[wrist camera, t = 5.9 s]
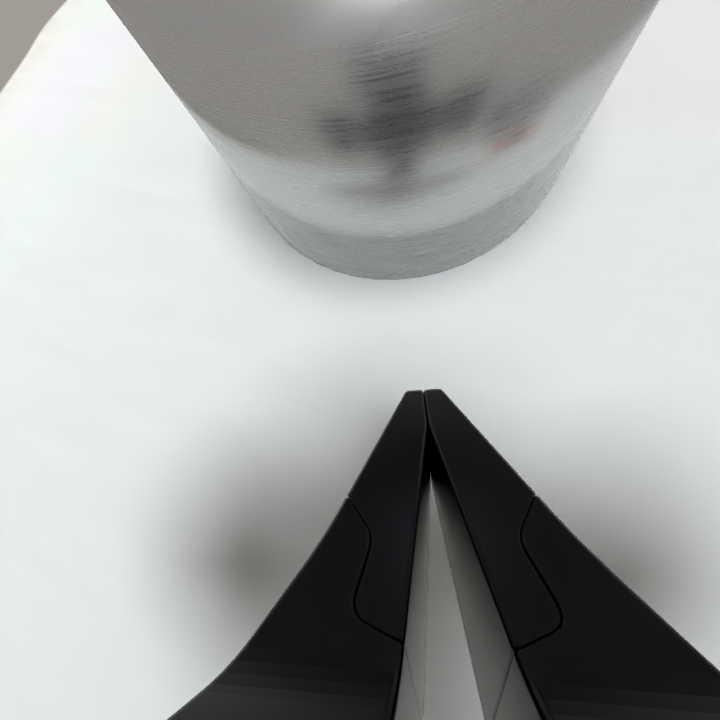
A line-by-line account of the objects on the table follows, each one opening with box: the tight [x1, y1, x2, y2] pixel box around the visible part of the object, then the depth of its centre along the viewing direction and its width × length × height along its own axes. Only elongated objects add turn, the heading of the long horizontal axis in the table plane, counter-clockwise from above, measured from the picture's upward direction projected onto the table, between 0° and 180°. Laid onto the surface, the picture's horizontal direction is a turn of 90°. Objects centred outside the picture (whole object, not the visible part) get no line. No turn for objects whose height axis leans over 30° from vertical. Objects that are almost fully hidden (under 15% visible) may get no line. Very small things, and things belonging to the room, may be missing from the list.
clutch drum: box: [106, 0, 659, 280], centre depth 11 cm, size 16×16×11 cm
